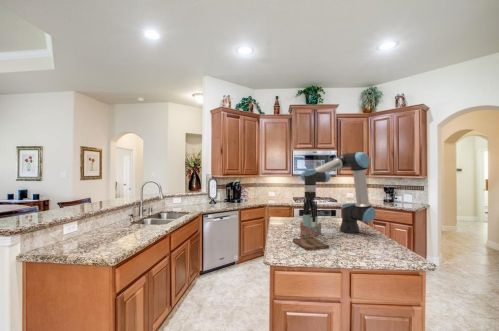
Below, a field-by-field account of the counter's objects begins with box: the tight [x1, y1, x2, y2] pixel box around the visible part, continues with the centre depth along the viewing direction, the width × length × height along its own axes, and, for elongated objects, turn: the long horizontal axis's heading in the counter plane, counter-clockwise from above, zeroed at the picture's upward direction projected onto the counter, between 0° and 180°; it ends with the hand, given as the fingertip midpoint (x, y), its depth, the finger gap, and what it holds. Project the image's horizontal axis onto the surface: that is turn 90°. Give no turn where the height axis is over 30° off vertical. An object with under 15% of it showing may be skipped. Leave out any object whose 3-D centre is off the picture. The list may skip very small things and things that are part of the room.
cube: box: [302, 214, 318, 227], centre depth 173 cm, size 7×7×7 cm
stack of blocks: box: [299, 220, 322, 239], centre depth 197 cm, size 21×6×12 cm, turn 138°
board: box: [292, 237, 330, 251], centre depth 173 cm, size 16×20×2 cm
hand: (310, 225), depth 173 cm, fingers closed on cube, 7 cm apart
